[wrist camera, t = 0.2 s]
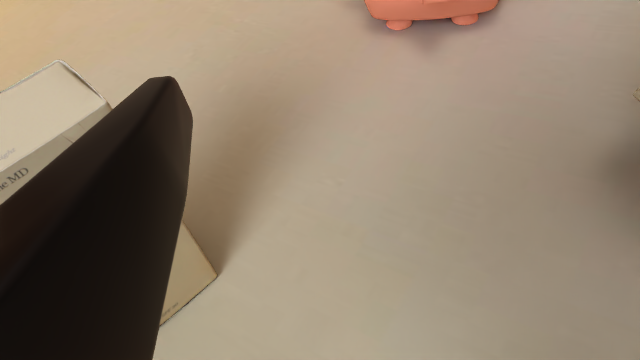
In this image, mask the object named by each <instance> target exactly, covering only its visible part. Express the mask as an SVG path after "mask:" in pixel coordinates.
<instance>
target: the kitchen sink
mask: <svg viewBox="0 0 640 360" xmlns="http://www.w3.org/2000/svg"><path fill="white" fill-rule="evenodd" d="M633 95H634V97H635V98H636V99H637V100H638V101H639V102H640V87H639V88H638V89H637V90H636V91H635V92H634V93H633Z"/></svg>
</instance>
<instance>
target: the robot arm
mask: <svg viewBox="0 0 640 360" xmlns="http://www.w3.org/2000/svg"><path fill="white" fill-rule="evenodd" d="M192 128H193V118H192V113H191V110H190V108H189V106H188V104H187V101H186V99H185V97H184V95H183V93H182V91H181V89H180V86H179V84H178V82H177V81H176V80H175V78H173V77H171V76H165V77H154V78H150V79H148V80H147V81H146V82H144V83H143V84H142V85H141V86H140V87H139V88H137V89H136V90H135V91H134V92H133V93H132V94H130V95H129V96H128V97H127V98H126V99H124V100H123V101H122V102H121V103H120V104H119V105H117V106H116V107H115V108H114V109H113V110H111V111H110V112H109V113H108V114H107V115H106V116H104V117H103V118H102V119H101V120H100V121H99V122H97V123H96V124H95V125H94V126H93V127H91V128H90V129H89V130H88V131H87V132H86V133H84V134H83V135H82V136H81V137H80V138H78V139H77V140H76V141H75V142H74V143H73V144H71V145H70V146H69V147H68V148H67V149H66V150H64V151H63V152H62V153H61V154H60V155H58V156H57V157H56V158H55V159H54V160H53V161H51V162H50V163H49V164H48V165H47V166H46V167H44V168H43V169H42V170H41V171H40V172H38V173H37V174H36V175H35V176H34V177H33V178H31V179H30V180H29V181H28V182H27V183H25V184H24V185H23V186H22V187H21V188H20V189H18V190H17V191H16V192H15V193H14V194H13V195H11V196H10V197H9V198H8V199H7V200H5V201H4V202H3V203H2V204H1V205H0V360H152V359H153V354H154V349H155V345H156V340H157V335H158V330H159V326H160V321H161V316H162V311H163V307H164V302H165V297H166V292H167V288H168V283H169V278H170V273H171V268H172V264H173V259H174V254H175V249H176V245H177V240H178V235H179V230H180V226H181V221H182V216H183V211H184V206H185V201H186V195H187V187H188V176H189V164H190V152H191V140H192Z"/></svg>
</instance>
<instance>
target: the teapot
mask: <svg viewBox="0 0 640 360" xmlns="http://www.w3.org/2000/svg"><path fill="white" fill-rule="evenodd" d="M364 1H365V3H366V5H367V8H368V10H369V12H370V14H371V15H372V17H374V18H376V19H382V20H387V22H386V25H387V27H388V28H390V29H393V30H403V29H406V28H408V27H409V26H410V25H411V24H412V21H413V20H431V19H442V18H450V17H451V20H452V21H453V22H454V23H455V24H458V25H470V24H473V23H475V22H476V21H477V20H478V17H479V16H478V14H477V13H481V12H485V11H489V10H491V9H493V8H494V7H495V6H496V4H497V3H498V1H499V0H364Z"/></svg>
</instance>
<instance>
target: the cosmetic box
mask: <svg viewBox="0 0 640 360" xmlns="http://www.w3.org/2000/svg"><path fill="white" fill-rule="evenodd" d="M111 110H113V109H112V108H111V106H110V105H109V103H108V102H107V100H106V99H105V98H104V97H102V96H101V95H100V94H99V93H98V92H97V91H96V90H95V89H94V88H93V87H92V86H91V85H90V84H89V83H88V82H87V81H86V80H85V79H84V78H83V77H82V76H81V75H80V74H78V73H77V72H76V71H75V70H74V69H73V68H72V67H70V66H69V65H68V64H67V63H66V62H65V61H63V60H55V61H53V62H52V63H50V64H48V65H47V66H45V67H43V68H42V69H40V70H38V71H37V72H34V73H33V74H31V75H29V76H28V77H26V78H24V79H22V80H20V81H19V82H17V83H16V84H14V85H12V86H10V87H8V88H7V89H5V90H3V91H1V92H0V205H1V204H2V203H3V202H4V201H5V200H7V199H8V198H9V197H10V196H11V195H13V194H14V193H15V192H16V191H17V190H18V189H20V188H21V187H22V186H23V185H24V184H25V183H27V182H28V181H29V180H30V179H31V178H33V177H34V176H35V175H36V174H37V173H38V172H40V171H41V170H42V169H43V168H44V167H46V166H47V165H48V164H49V163H50V162H51V161H53V160H54V159H55V158H56V157H57V156H58V155H60V154H61V153H62V152H63V151H64V150H66V149H67V148H68V147H69V146H70V145H71V144H73V143H74V142H75V141H76V140H77V139H78V138H80V137H81V136H82V135H83V134H84V133H86V132H87V131H88V130H89V129H90V128H91V127H93V126H94V125H95V124H96V123H97V122H99V121H100V120H101V119H102V118H103V117H104V116H106V115H107V114H108V113H109V112H110V111H111ZM216 277H217V273H216V272H215V270H214V269H213V267H212V265H211V264H210V262H209V261H208V259H207V258H206V256H205V255H204V253H203V251H202V250H201V248H200V247H199V245H198V244H197V242H196V241H195V239H194V237H193V236H192V234H191V233H190V231H189V230H188V228H187V226H186V225H185V223H184V222H183V220H182V221H181V226H180V230H179V235H178V240H177V245H176V249H175V254H174V259H173V264H172V268H171V273H170V278H169V283H168V288H167V292H166V297H165V302H164V307H163V311H162V316H161V321H160V325H161V324H163V323H164V322H165V321H166V320H167V319H168V318H170V317H171V316H172V315H173V314H174V313H176V312H177V311H178V310H179V309H180V308H181V307H183V306H184V305H185V304H186V303H187V302H188V301H190V300H191V299H192V298H193V297H194V296H195V295H197V294H198V293H199V292H200V291H201V290H203V289H204V288H205V287H206V286H207V285H208V284H209V283H211V282H212V281H213V280H214V279H215V278H216Z"/></svg>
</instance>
